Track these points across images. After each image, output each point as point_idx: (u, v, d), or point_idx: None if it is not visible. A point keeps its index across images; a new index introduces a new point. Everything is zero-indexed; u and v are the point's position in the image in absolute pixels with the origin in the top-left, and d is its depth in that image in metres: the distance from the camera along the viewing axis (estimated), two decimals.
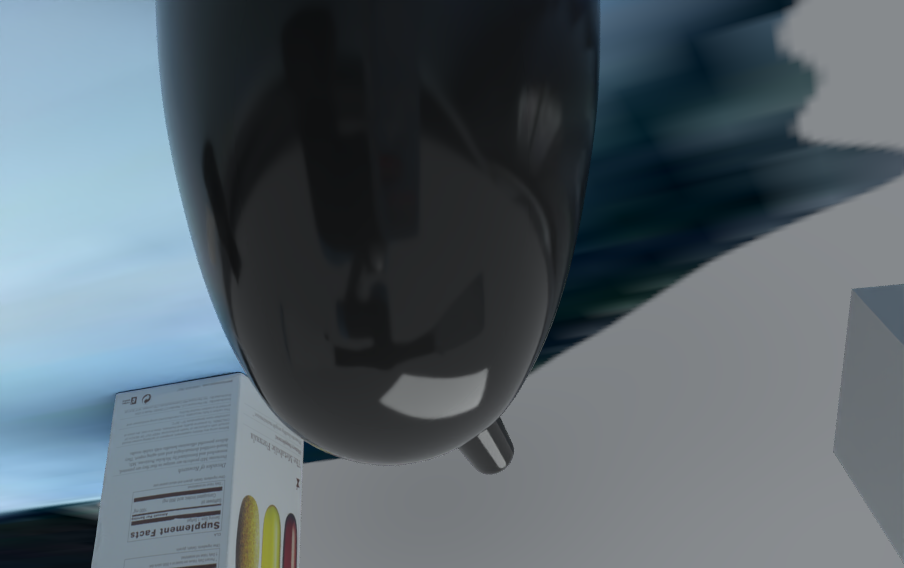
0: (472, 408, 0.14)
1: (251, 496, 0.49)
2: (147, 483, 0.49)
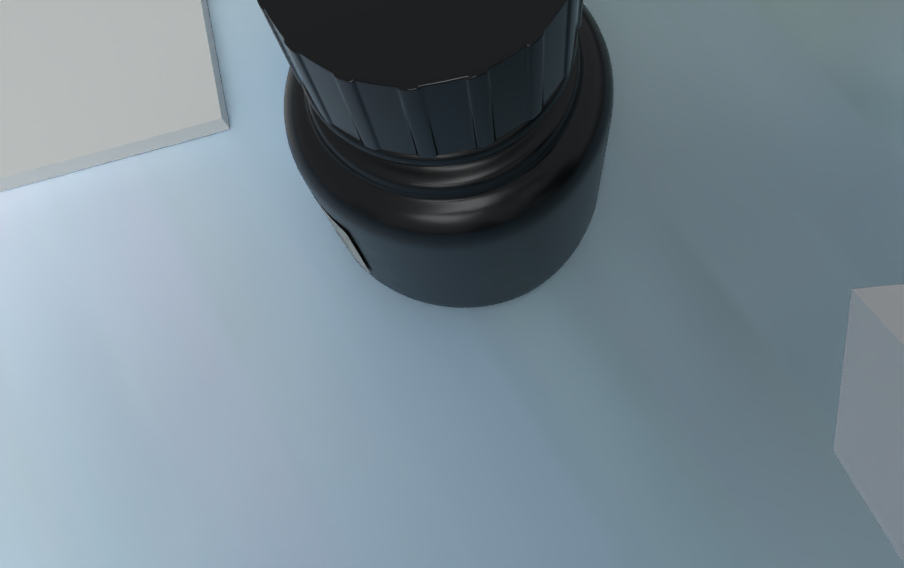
0: None
1: None
2: None
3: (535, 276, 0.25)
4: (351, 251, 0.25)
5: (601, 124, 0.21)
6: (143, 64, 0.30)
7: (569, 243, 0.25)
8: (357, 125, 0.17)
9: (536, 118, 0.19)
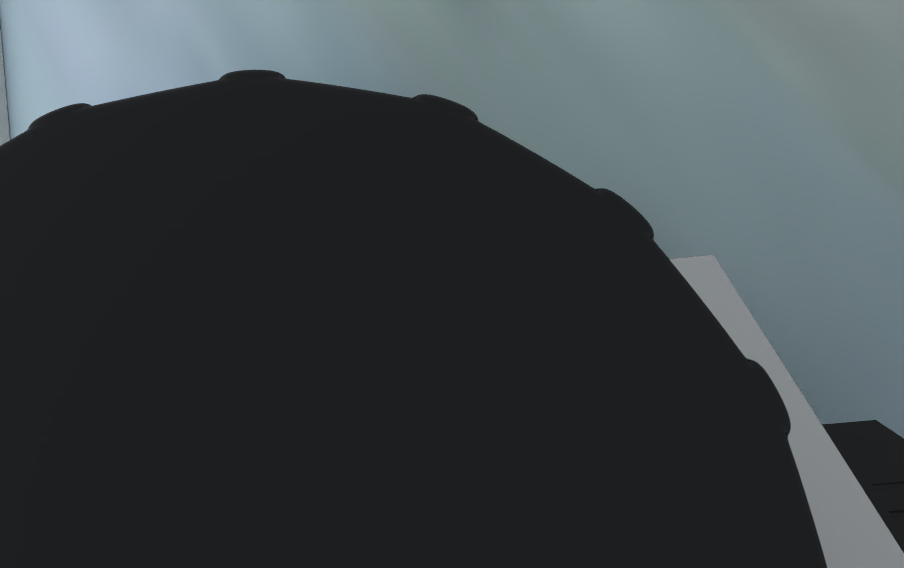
0: None
1: None
2: None
3: None
4: None
5: None
6: None
7: None
8: None
9: None
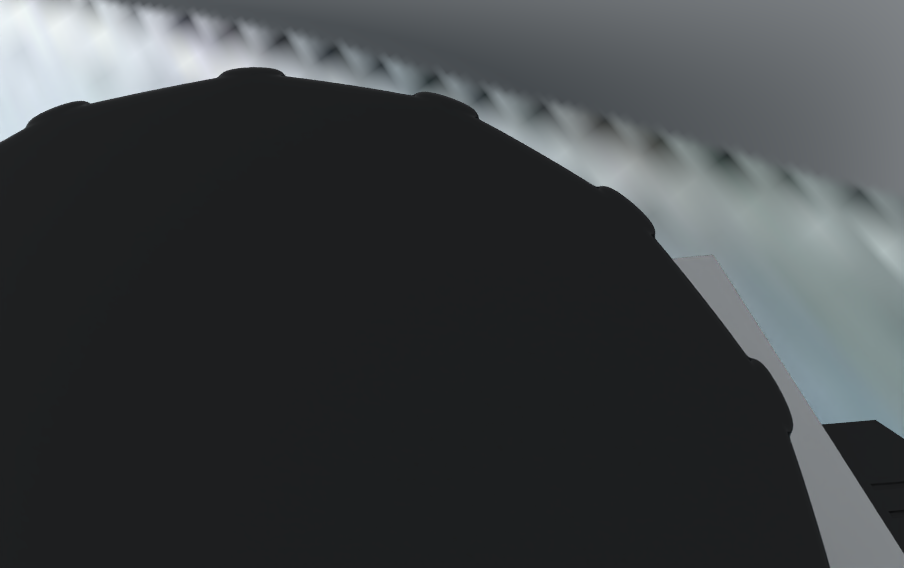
0: None
1: None
2: None
3: None
4: None
5: None
6: None
7: None
8: None
9: None
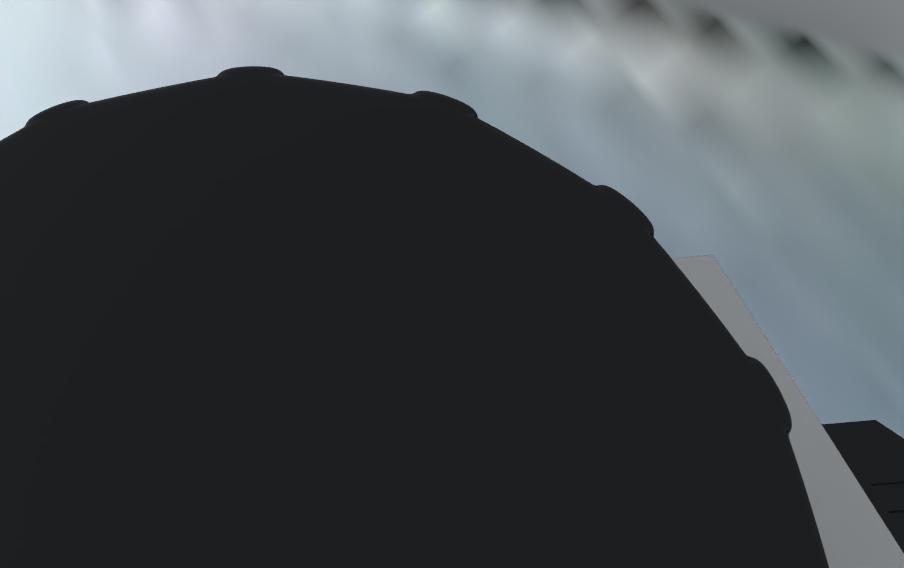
0: None
1: None
2: None
3: None
4: None
5: None
6: None
7: None
8: None
9: None
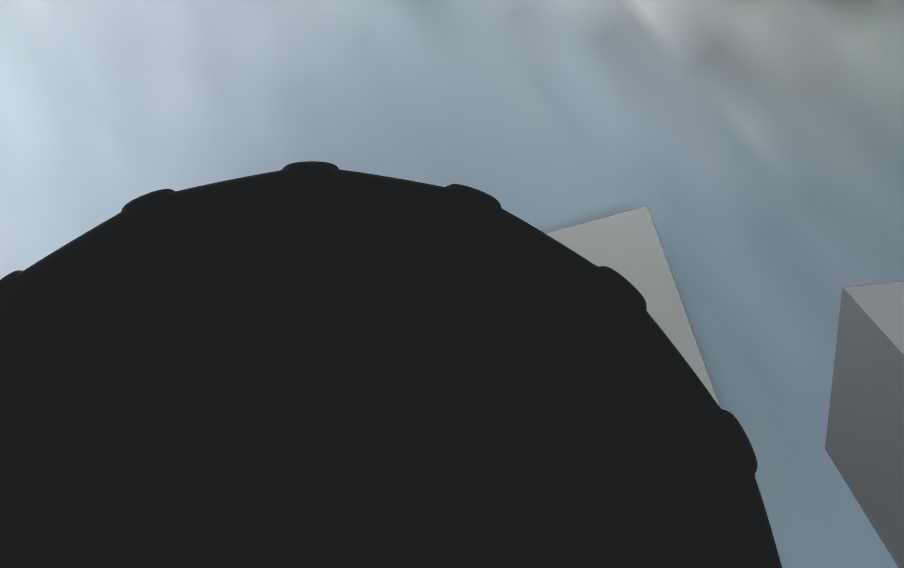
0: None
1: None
2: None
3: None
4: None
5: None
6: None
7: None
8: None
9: None
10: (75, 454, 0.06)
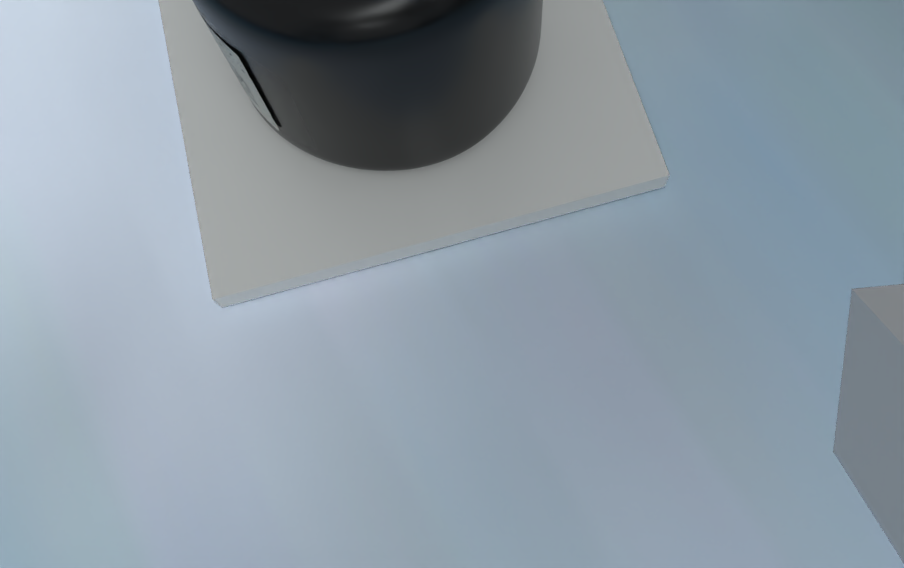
0: None
1: None
2: None
3: (466, 126, 0.22)
4: (255, 100, 0.22)
5: None
6: (552, 105, 0.24)
7: (505, 87, 0.21)
8: None
9: None
10: None
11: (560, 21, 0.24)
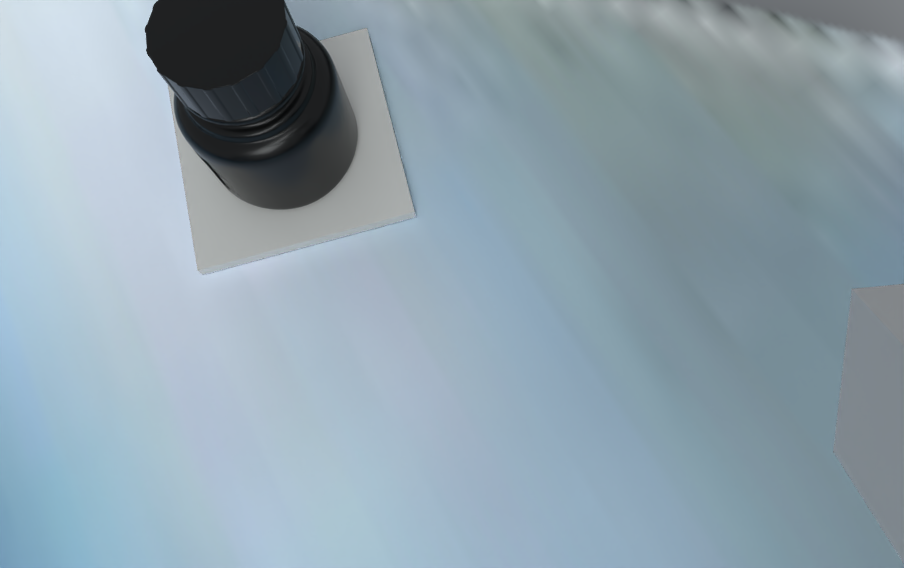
0: None
1: None
2: None
3: (314, 190, 0.47)
4: None
5: (325, 107, 0.43)
6: (362, 177, 0.49)
7: (330, 172, 0.46)
8: (194, 106, 0.39)
9: (280, 103, 0.40)
10: (186, 6, 0.39)
11: (370, 134, 0.49)
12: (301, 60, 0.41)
